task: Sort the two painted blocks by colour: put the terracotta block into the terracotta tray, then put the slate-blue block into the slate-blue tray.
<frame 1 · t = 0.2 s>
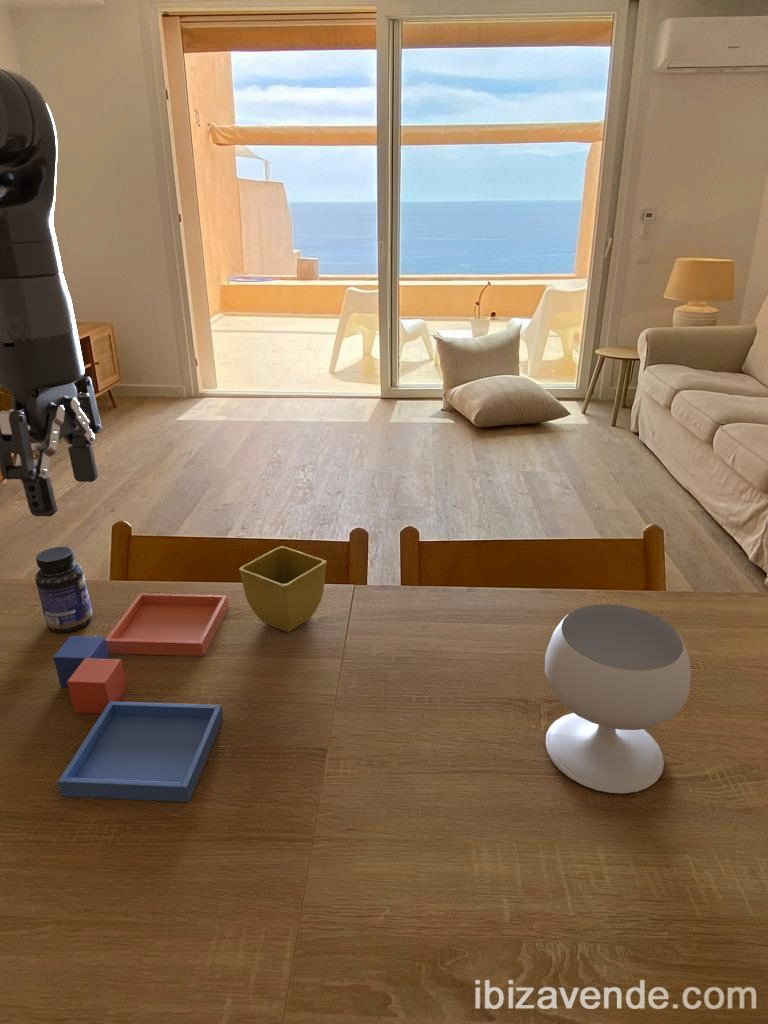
hand: (67, 496, 68), 28 cm above the table, tool pointing down, fingers open, 8 cm apart
chalice: (602, 753, 75), on the table
terracotta tray: (170, 628, 97), on the table
slate-blue tray: (147, 755, 75), on the table
pill bottle: (70, 623, 99), on the table
slate-blue block: (86, 676, 88), on the table
flower pot: (287, 621, 99), on the table
terracotta block: (101, 700, 83), on the table
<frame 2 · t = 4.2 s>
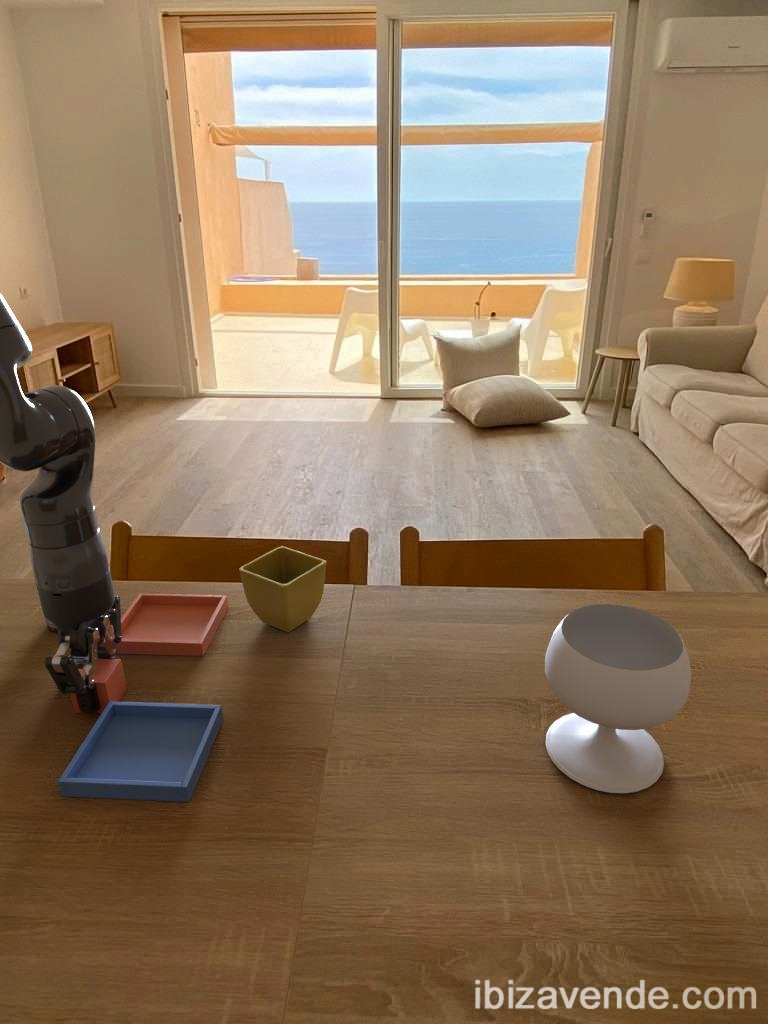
hand: (100, 696, 83), 1 cm above the table, tool pointing down, fingers closed on terracotta block, 4 cm apart
slate-blue block: (86, 676, 88), on the table, touching terracotta block
terracotta block: (101, 700, 83), on the table, touching gripper, slate-blue block
everything else where it was.
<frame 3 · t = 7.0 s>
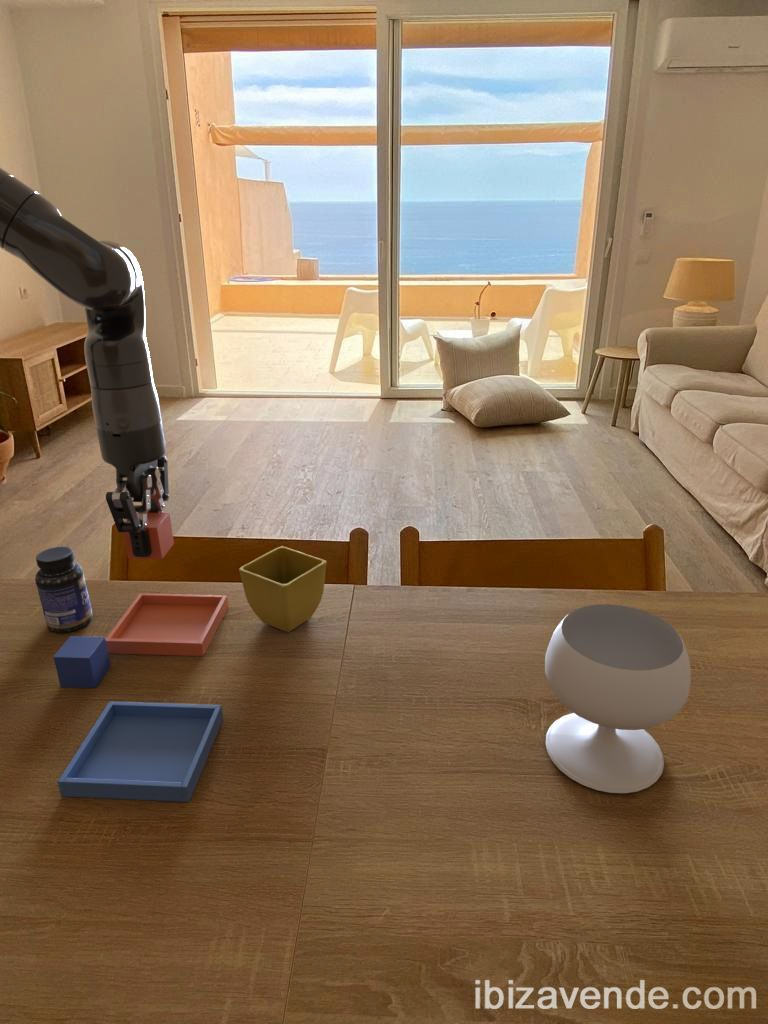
hand: (150, 545, 90), 14 cm above the table, tool pointing down, fingers closed on terracotta block, 4 cm apart
slate-blue block: (86, 676, 88), on the table
terracotta block: (151, 550, 91), point 13 cm above the table, touching gripper
everything else where it was.
when the fingers open (1 cm above the table, at t = 10.2 s): terracotta block stays where it is, resting on terracotta tray.
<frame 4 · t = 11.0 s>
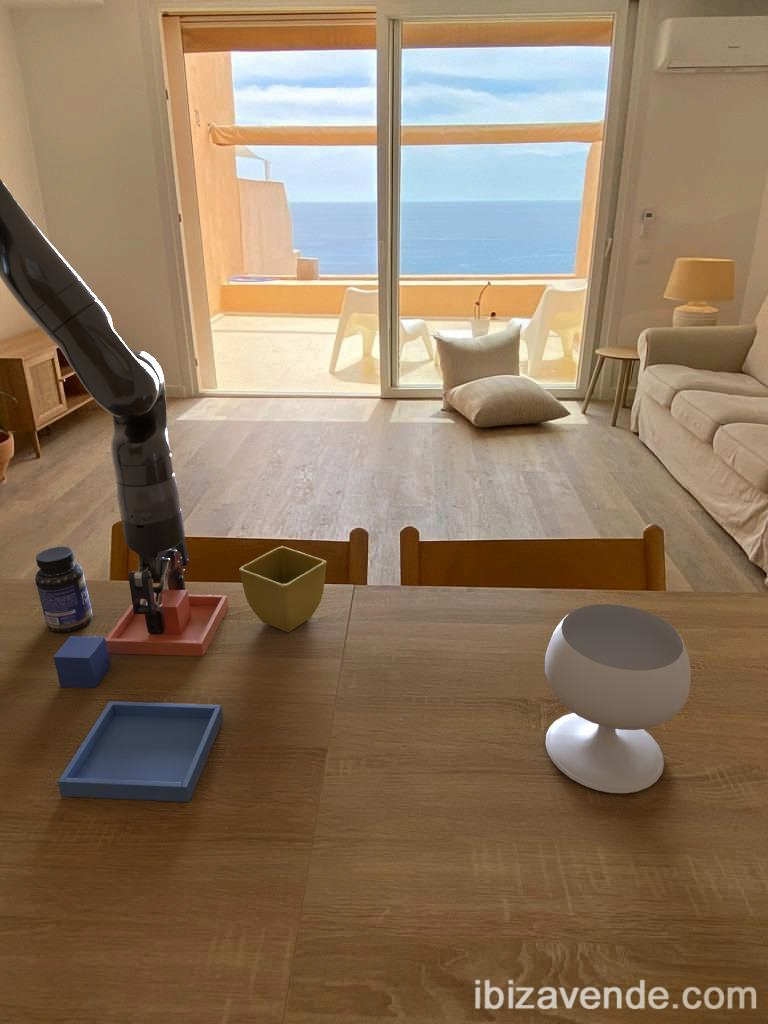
hand: (168, 615, 96), 2 cm above the table, tool pointing down, fingers open, 8 cm apart
terracotta block: (170, 625, 97), resting on terracotta tray
everything else where it was.
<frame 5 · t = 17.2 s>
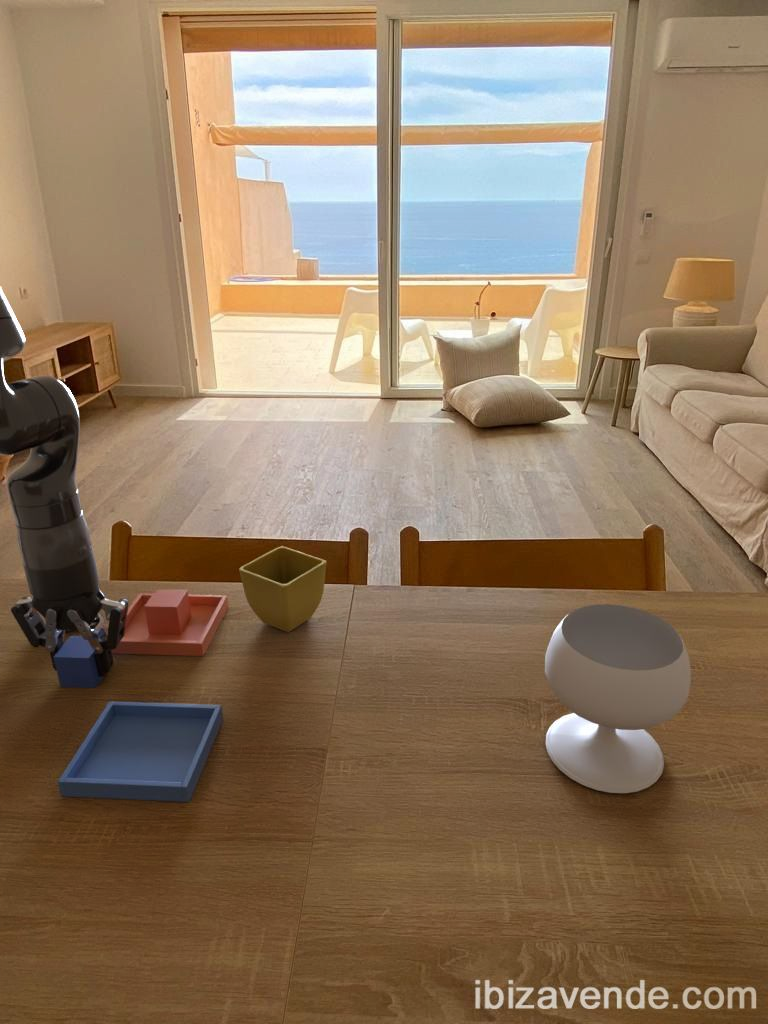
hand: (85, 671, 87), 1 cm above the table, tool pointing down, fingers closed on slate-blue block, 4 cm apart
slate-blue block: (86, 676, 88), on the table, touching gripper
everything else where it was.
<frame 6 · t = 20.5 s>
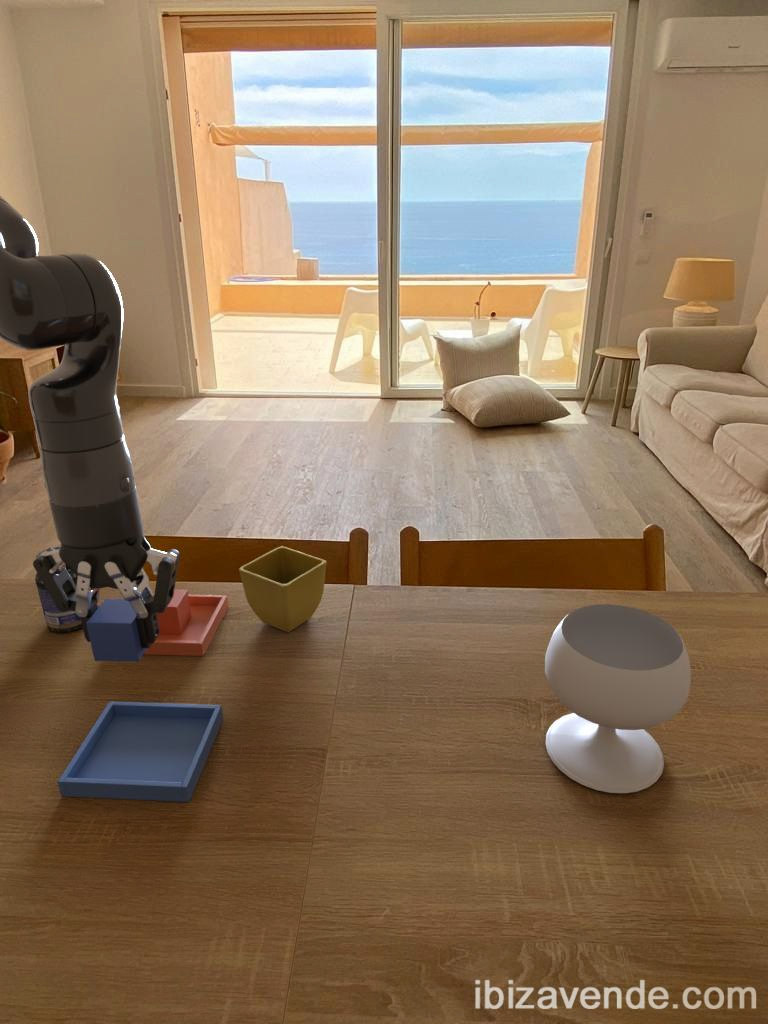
hand: (124, 642, 70), 14 cm above the table, tool pointing down, fingers closed on slate-blue block, 4 cm apart
slate-blue block: (125, 648, 71), point 13 cm above the table, touching gripper
everything else where it was.
when the fingers open (1 cm above the table, at t = 23.7 s): slate-blue block stays where it is, resting on slate-blue tray.
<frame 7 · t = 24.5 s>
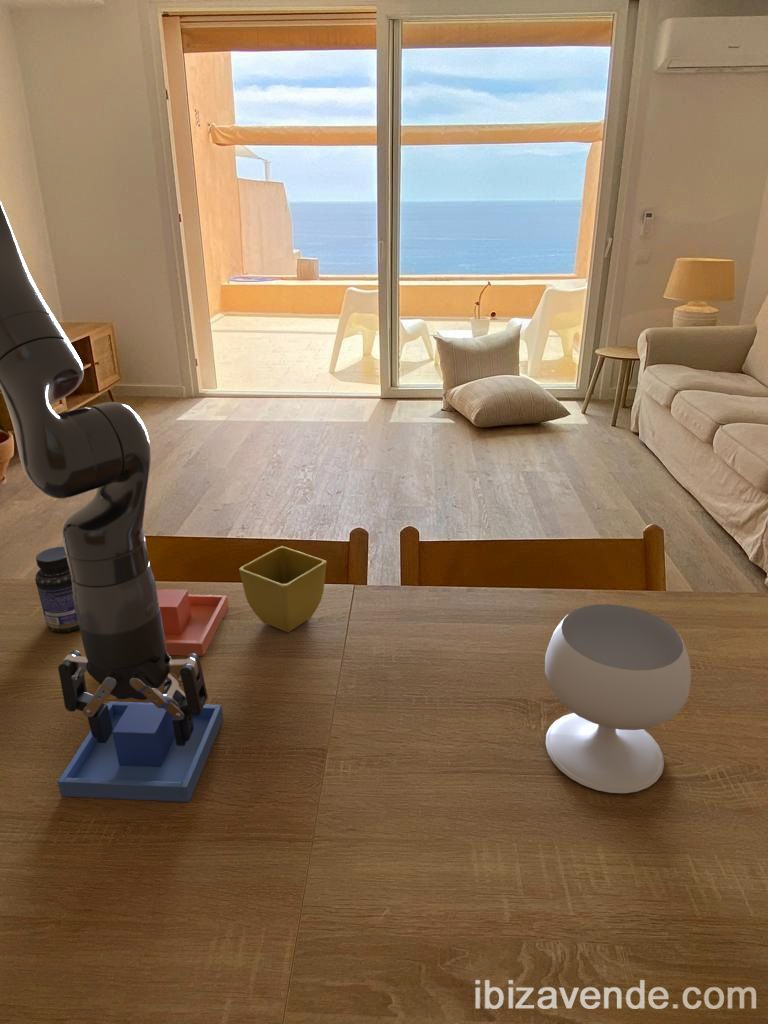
hand: (144, 739, 74), 2 cm above the table, tool pointing down, fingers open, 8 cm apart
slate-blue block: (148, 750, 75), resting on slate-blue tray
everything else where it was.
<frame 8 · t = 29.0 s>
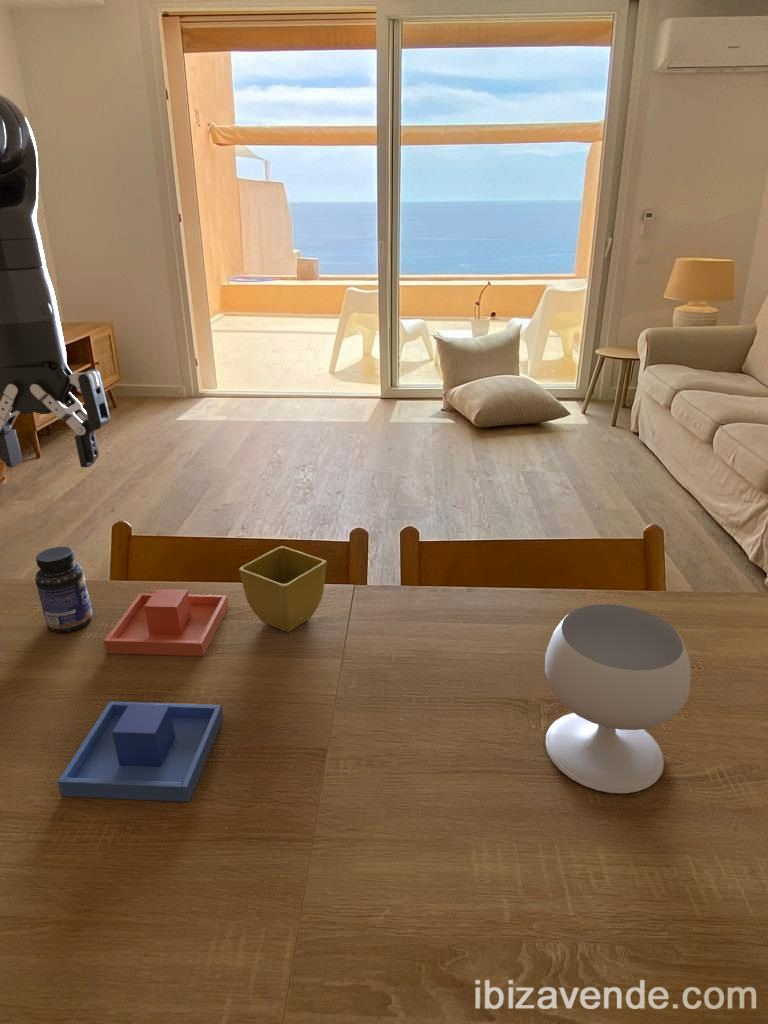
hand: (51, 464, 77), 28 cm above the table, tool pointing down, fingers open, 8 cm apart
nothing on the table moved.
at the end: terracotta block inside the target area in the terracotta tray (0.1 cm from its centre), point 0.5 cm above the terracotta tray's base; slate-blue block inside the target area in the slate-blue tray (0.1 cm from its centre), point 0.5 cm above the slate-blue tray's base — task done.
